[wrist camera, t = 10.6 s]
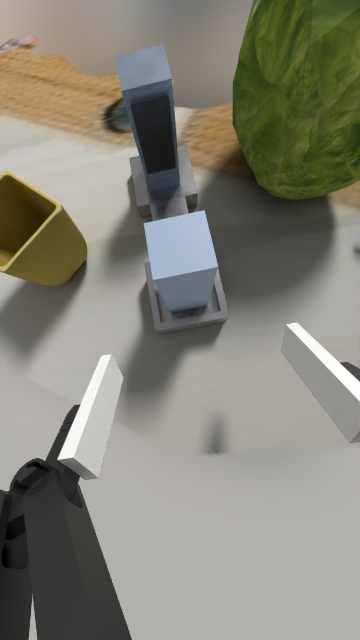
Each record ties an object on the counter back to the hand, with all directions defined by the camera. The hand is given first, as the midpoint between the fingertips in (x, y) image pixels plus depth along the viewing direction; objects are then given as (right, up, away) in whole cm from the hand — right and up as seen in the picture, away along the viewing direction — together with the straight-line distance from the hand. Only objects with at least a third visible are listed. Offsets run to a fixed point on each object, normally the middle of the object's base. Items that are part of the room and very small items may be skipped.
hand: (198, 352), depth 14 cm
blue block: (-1, +6, +9) cm, 10 cm away
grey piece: (-2, +14, +12) cm, 19 cm away
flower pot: (-18, +11, +13) cm, 25 cm away
